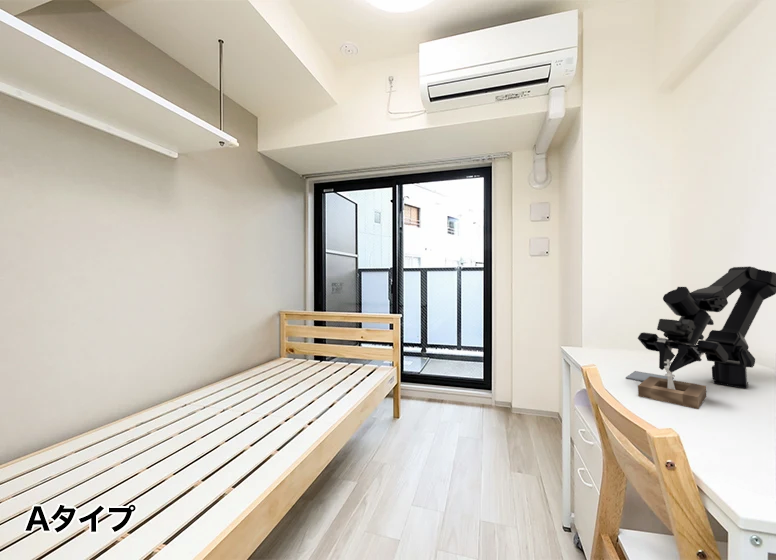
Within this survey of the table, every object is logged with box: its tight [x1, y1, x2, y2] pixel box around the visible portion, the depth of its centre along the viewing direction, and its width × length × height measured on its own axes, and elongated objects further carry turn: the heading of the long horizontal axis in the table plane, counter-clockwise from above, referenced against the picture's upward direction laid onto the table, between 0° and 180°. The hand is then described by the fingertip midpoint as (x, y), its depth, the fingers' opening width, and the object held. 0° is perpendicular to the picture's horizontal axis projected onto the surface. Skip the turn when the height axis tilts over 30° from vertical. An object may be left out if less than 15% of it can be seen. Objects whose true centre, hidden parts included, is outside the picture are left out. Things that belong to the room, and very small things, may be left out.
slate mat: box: [625, 370, 675, 383], centre depth 100 cm, size 10×10×1 cm
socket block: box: [637, 376, 707, 410], centre depth 85 cm, size 12×12×3 cm
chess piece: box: [664, 359, 676, 390], centre depth 86 cm, size 5×5×10 cm
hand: (665, 369), depth 86 cm, fingers closed on chess piece
